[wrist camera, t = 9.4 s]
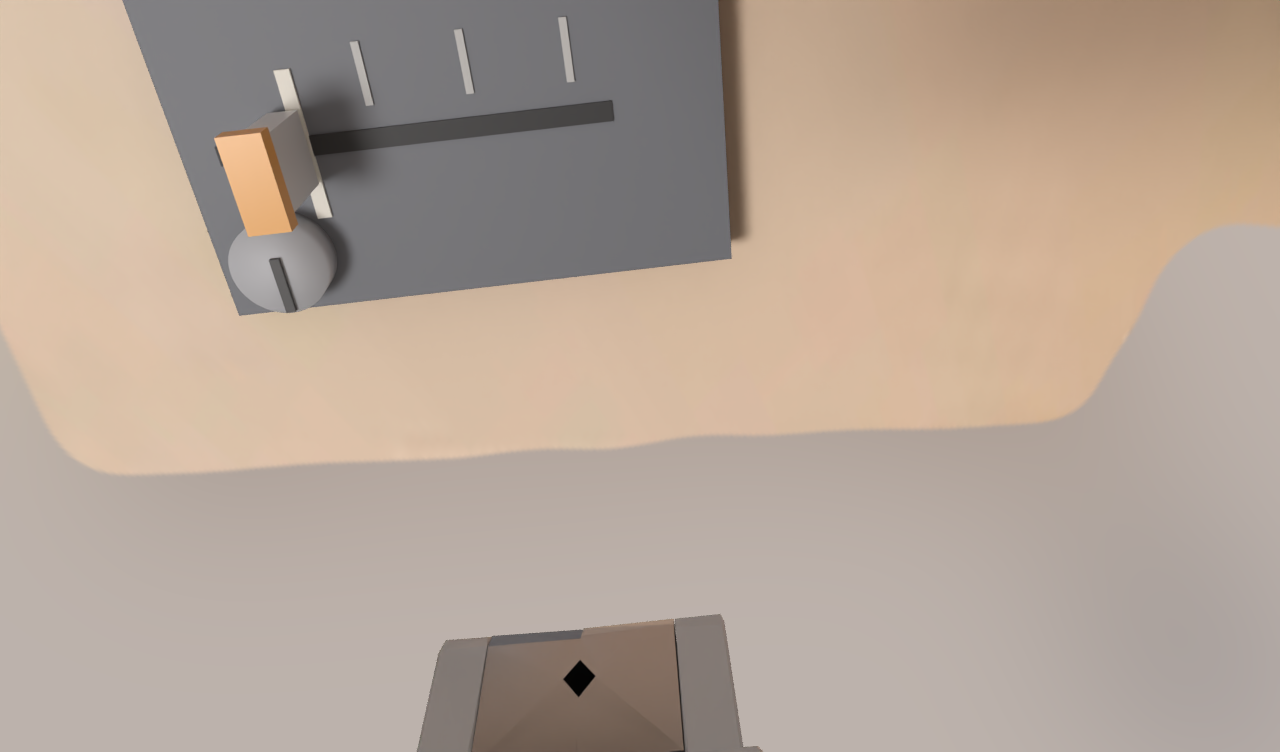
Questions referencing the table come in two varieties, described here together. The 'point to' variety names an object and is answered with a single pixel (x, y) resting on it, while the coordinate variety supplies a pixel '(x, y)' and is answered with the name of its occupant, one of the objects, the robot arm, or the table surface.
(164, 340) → the table surface
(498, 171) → the console
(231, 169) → the fader
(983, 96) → the table surface
